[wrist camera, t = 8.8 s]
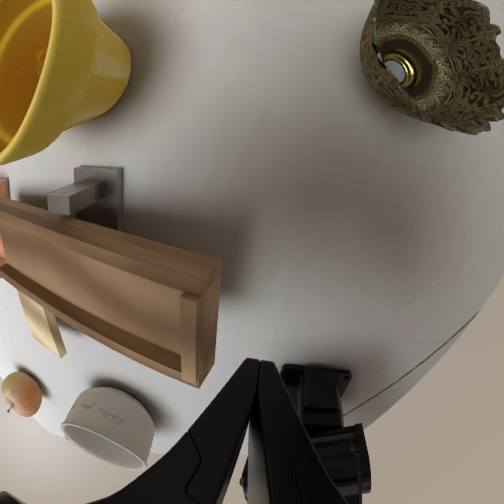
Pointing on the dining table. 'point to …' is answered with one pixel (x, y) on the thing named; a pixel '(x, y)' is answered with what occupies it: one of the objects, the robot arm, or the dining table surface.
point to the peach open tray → (0, 191)
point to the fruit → (22, 393)
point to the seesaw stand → (91, 197)
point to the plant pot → (54, 71)
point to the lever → (113, 290)
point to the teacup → (110, 427)
